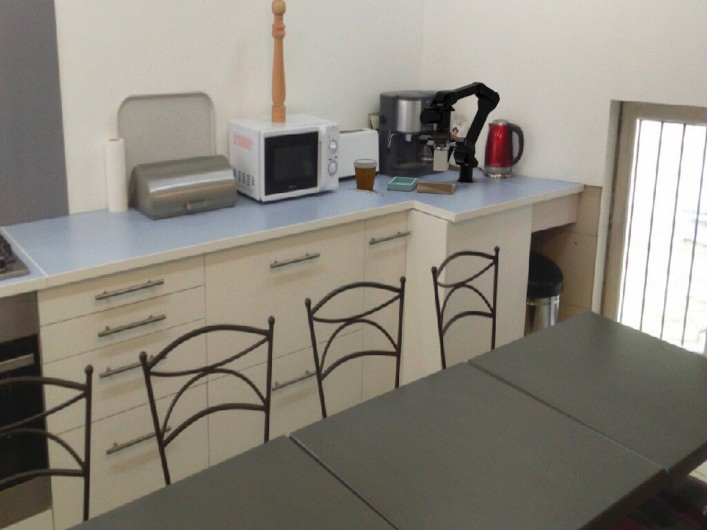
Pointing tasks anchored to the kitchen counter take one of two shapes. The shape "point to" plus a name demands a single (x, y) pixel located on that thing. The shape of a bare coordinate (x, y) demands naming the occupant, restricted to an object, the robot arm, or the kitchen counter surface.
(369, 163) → the disposable coffee cup
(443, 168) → the white handled drawer
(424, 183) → the bay
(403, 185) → the tray
